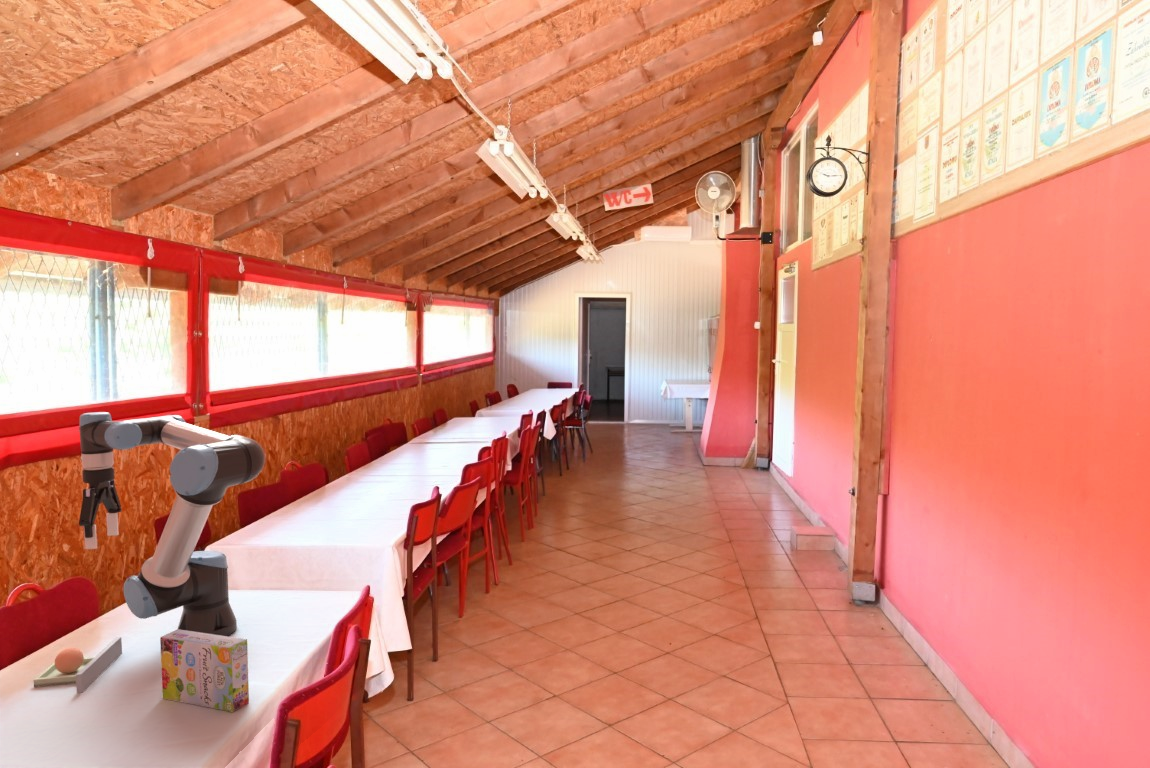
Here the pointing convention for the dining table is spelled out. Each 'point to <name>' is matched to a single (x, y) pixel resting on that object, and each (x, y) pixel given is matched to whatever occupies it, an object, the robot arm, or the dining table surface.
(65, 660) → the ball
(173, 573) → the robot arm
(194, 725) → the dining table surface
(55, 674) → the tray
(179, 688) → the snack box
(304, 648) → the dining table surface
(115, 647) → the divider wall
